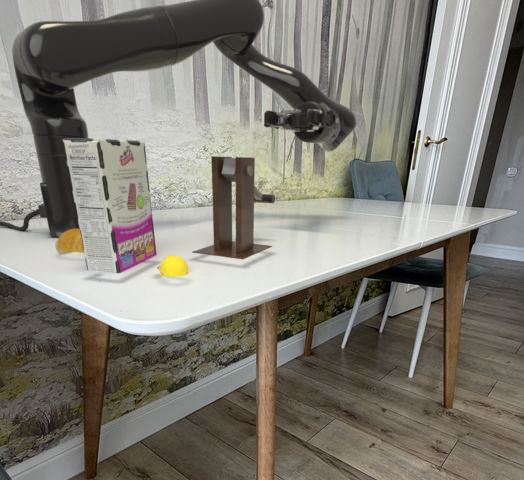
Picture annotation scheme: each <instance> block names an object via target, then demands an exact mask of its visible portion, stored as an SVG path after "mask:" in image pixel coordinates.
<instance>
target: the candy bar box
mask: <svg viewBox="0 0 524 480" xmlns="http://www.w3.org/2000/svg"><path fill="white" fill-rule="evenodd" d="M63 144H64V149H65V155H66V159H67V165H68V170H69V176H70V181H71V186H72V192H73V197H74V202H75V206H76V212H77V217H78V223H79V228H80V233H81V238H82V244H83V249H84V253H83V254H84V259H85V265H86V269H87V271H88V272H89V271H90V272H99V273H111V274H120V273H123V272H126V271H128V270H129V269H132V268H133V267H136V266H138V265H140V264H141V263H144V262H146V261H148V260H150V259H152V258H154V257H155V256H157V246H156V236H155V229H154V228H155V227H154V220H153V209H152V201H151V191H150V190H151V189H150V181H149V173H148V171H149V170H148V163H147V162H148V161H147V154H146V153H147V152H146V142H145V141H143V140H129V139H111V138H89V137H88V138H70V139H63Z"/></svg>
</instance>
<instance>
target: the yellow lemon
mask: <svg viewBox="0 0 524 480" xmlns="http://www.w3.org/2000/svg"><path fill="white" fill-rule="evenodd" d="M156 269H157V270H158V272H160V274H161V275H162V276H165V277H175V278H176V277H183V276H186V275H188V274H189V265H188V264H187V262H186V260H185V258H183V257H181V256H180V255H178V254H173V255H167V256H165V258H164V259H163V260H162V261H161V262H160V265H158V266H157V267H156Z"/></svg>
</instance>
